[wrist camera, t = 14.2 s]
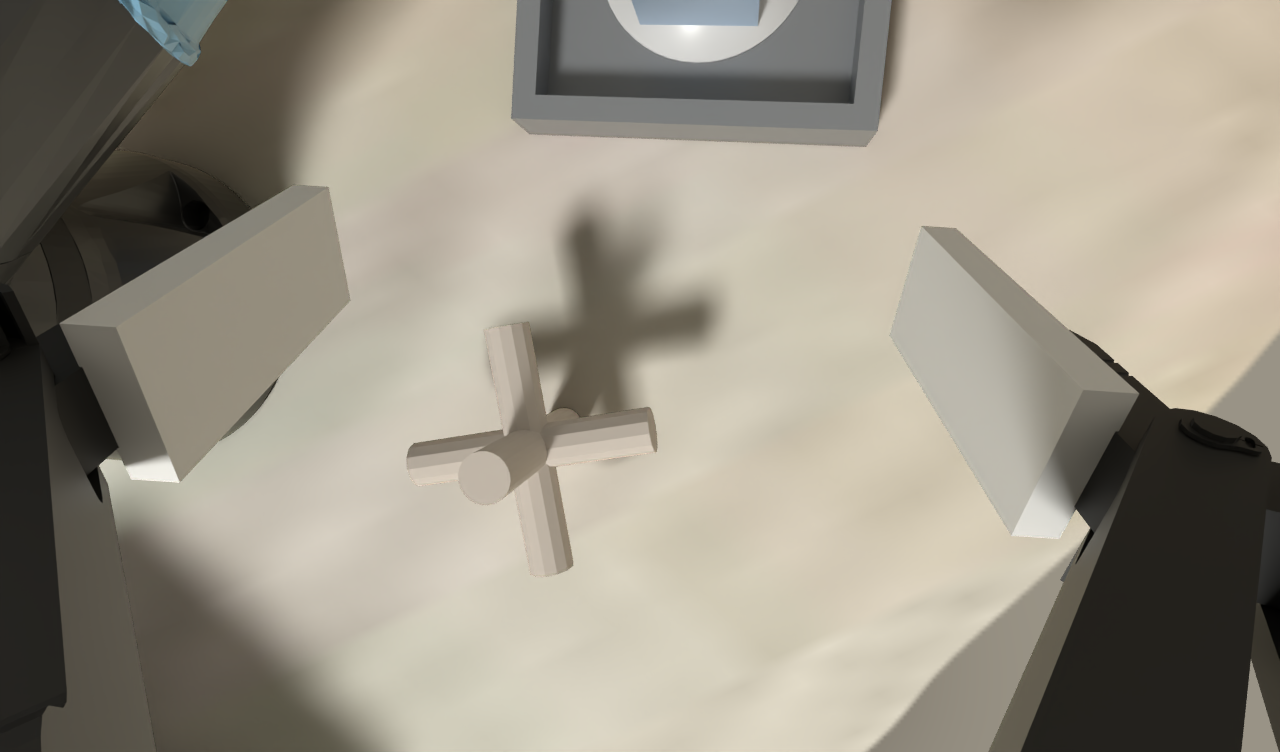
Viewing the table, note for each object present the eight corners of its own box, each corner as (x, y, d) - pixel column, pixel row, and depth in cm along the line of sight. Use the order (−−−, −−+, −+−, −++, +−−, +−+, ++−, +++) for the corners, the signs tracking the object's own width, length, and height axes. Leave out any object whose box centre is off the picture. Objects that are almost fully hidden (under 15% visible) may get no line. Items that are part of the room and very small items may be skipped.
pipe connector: (486, 539, 33) (376, 637, 23) (447, 341, 32) (317, 354, 22) (684, 514, 31) (658, 608, 21) (648, 305, 30) (604, 301, 21)
